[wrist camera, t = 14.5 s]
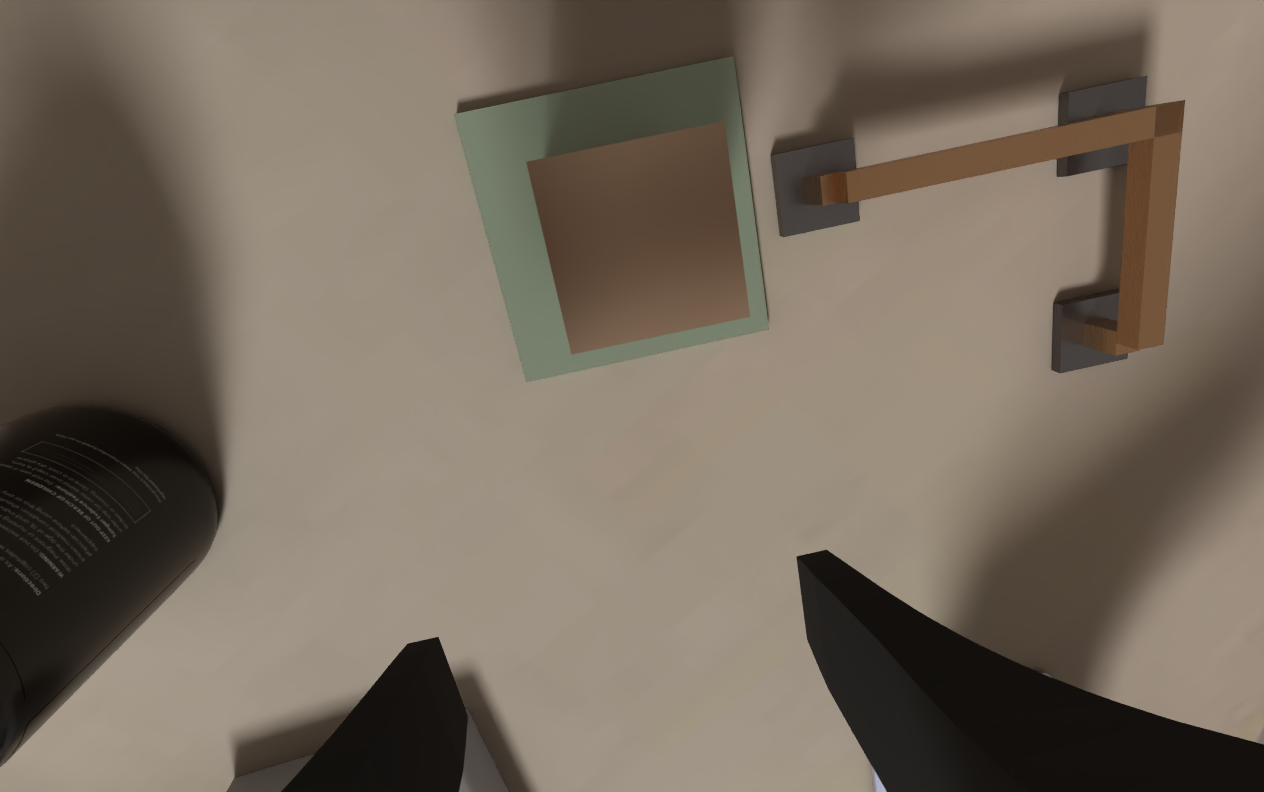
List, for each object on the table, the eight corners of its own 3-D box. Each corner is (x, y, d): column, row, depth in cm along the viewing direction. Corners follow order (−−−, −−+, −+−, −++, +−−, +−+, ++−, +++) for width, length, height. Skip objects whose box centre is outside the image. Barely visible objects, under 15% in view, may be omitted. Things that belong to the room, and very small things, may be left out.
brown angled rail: (1117, 355, 21) (1184, 375, 19) (802, 425, 21) (830, 453, 19) (1135, 78, 19) (1216, 61, 16) (770, 155, 18) (799, 150, 16)
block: (698, 280, 19) (750, 316, 13) (573, 306, 19) (571, 354, 13) (677, 144, 18) (724, 121, 12) (542, 172, 18) (526, 161, 12)
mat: (766, 327, 20) (769, 329, 20) (527, 379, 20) (526, 382, 20) (731, 57, 17) (733, 55, 17) (455, 115, 17) (454, 114, 17)
